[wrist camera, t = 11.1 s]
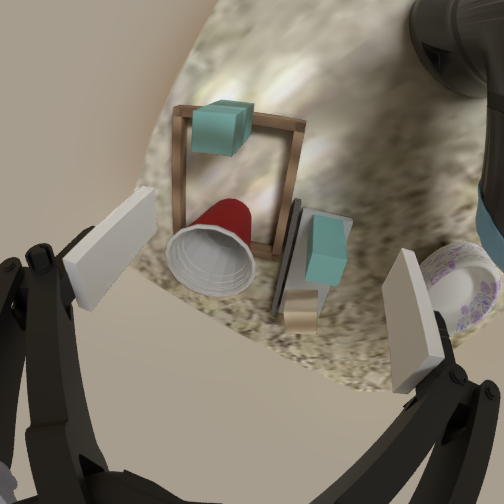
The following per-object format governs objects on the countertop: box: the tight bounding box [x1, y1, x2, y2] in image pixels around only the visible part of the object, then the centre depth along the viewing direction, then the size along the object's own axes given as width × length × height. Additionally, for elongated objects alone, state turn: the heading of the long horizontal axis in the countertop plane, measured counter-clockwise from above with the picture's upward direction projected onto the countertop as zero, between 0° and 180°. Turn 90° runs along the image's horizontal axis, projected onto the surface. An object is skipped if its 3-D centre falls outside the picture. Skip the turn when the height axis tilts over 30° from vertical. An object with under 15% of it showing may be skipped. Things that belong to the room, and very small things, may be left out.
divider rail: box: [270, 198, 301, 316], centre depth 46 cm, size 22×1×2 cm, turn 174°
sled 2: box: [278, 208, 353, 317], centre depth 42 cm, size 20×7×10 cm, turn 174°
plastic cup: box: [165, 198, 255, 297], centre depth 39 cm, size 11×11×12 cm
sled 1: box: [172, 100, 306, 262], centre depth 35 cm, size 22×16×11 cm
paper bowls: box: [419, 241, 501, 335], centre depth 38 cm, size 15×15×8 cm
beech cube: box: [284, 290, 318, 334], centre depth 46 cm, size 5×5×5 cm
